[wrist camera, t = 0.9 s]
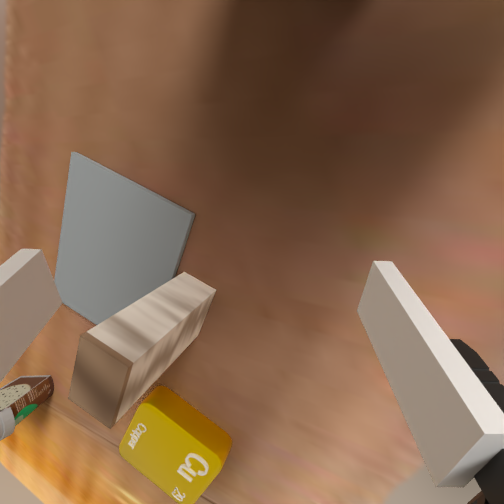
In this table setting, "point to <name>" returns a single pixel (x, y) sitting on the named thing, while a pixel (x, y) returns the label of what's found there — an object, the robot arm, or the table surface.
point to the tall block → (137, 347)
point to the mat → (115, 241)
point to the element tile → (175, 445)
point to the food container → (22, 400)
